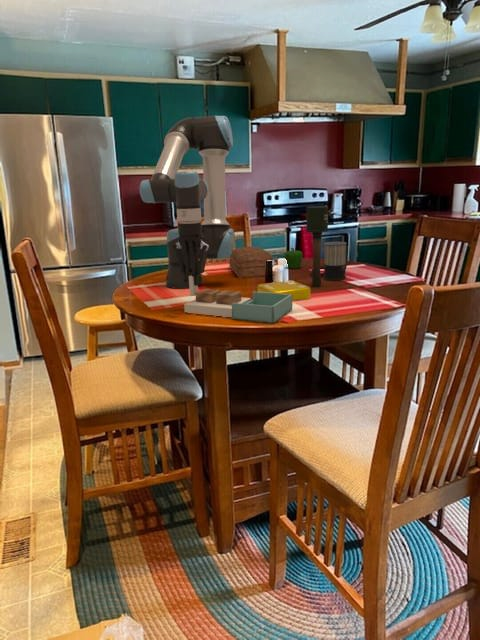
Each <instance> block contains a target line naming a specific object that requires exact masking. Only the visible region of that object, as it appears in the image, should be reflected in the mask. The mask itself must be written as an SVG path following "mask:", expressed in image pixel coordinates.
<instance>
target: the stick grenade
mask: <svg viewBox="0 0 480 640" xmlns="http://www.w3.org/2000/svg"><path fill="white" fill-rule="evenodd" d="M305 232H306V233H311V235H312V251H313V253H312V254H313V257H312V258H313V260H312V261H313V264H312V265H313V266H312V269H313V275H311V276H312V277H311V286H312V287H313V288H314V287H316V288H317V287H319V288H320V287H322V286H321V285H322V276H321V269H320V266H321V249H322V239H323V238H322V235H323V233H327V232H330V229H329V206H326V205H318V206H317V205H316V206H307V207H306V229H305Z"/></svg>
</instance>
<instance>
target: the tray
mask: <svg viewBox="0 0 480 640" xmlns="http://www.w3.org/2000/svg"><path fill="white" fill-rule="evenodd" d="M291 311H293V301H292V294H278V293H265V292H258V291H252V299H251V301H249V302H247V303H246V304H242V303H232V318H231V319H232V320H235V319H240V320H239V321H245V320H249V321H248V322H255V321H258V322H257V323H265V322H267V323H266V324H275V323H276V322H277V320H278V321H279V320H280V319H282V318H283V317H285V316H286V315H287V314H289V313H290V312H291Z"/></svg>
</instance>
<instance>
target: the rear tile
mask: <svg viewBox="0 0 480 640" xmlns="http://www.w3.org/2000/svg"><path fill="white" fill-rule="evenodd" d="M220 292H222V290H221V289H212V288H211V289H210V288H204V289H202V290H198V292H196V295H195V299H196V302H204V303H214V302H216V294H218V293H220Z"/></svg>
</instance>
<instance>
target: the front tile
mask: <svg viewBox="0 0 480 640" xmlns="http://www.w3.org/2000/svg"><path fill="white" fill-rule="evenodd" d="M241 297H242V291H238V290H227V289H226V290H221V292H220V293H218V294H216V304H226V305H232V303H238V302H240V301H242V299H241Z"/></svg>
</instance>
